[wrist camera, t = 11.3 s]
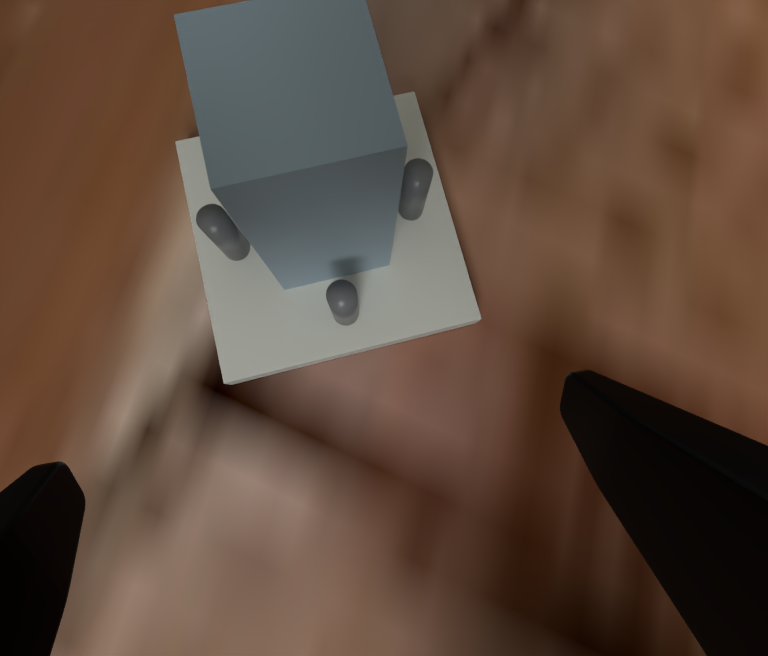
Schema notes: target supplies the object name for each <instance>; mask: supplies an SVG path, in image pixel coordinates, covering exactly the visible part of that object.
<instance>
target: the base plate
mask: <svg viewBox="0 0 768 656" xmlns="http://www.w3.org/2000/svg"><path fill="white" fill-rule="evenodd" d="M394 100H395V103H396V107H397V110H398V114H399V117H400V121H401V124H402V128H403V131H404V135H405V138H406V142H407V145H408V147H407V154H406V160H405V167H404V174H403V180H402V187H401V193H400V200H399V206H398V213H397V220H396V226H395V233H394V239H393V246H392V252H391V259H390V265H388V266H384V267H380V268H376V269H372V270H367V271H363V272H359V273H355V274H351V275H346V276H342V277H338V278H334V279H330V280H325V281H321V282H317V283H313V284H308V285H304V286H300V287H296V288H292V289H287V290H284V289H283V287H282V286H281V285H280V283H279V282H278V281H277V279H276V278H275V276H274V275H273V274H272V272H271V271H270V270H269V268H268V267H267V266H266V264H265V263H264V261H263V260H262V259H261V257H260V256H259V255H258V253H257V252H256V251H255V249H254V248H253V246H252V245H251V244H250V242H249V241H248V240H247V238H246V237H245V236H244V234H243V233H242V232H241V230H240V229H239V227H238V226H237V225H236V223H235V222H234V221H233V219H232V218H231V217H230V215H229V214H228V212H227V211H226V210H225V208H224V207H223V206H222V204H221V203H220V202H219V200H218V199H217V198H216V196H215V195H214V193H213V192H212V191H211V189H210V185H209V180H208V176H207V171H206V166H205V161H204V156H203V152H202V147H201V142H200V137H194V138H189V139H184V140H180V141H175V143H176V148H177V153H178V158H179V163H180V168H181V173H182V178H183V183H184V188H185V193H186V198H187V203H188V208H189V213H190V218H191V223H192V228H193V233H194V238H195V243H196V248H197V253H198V258H199V263H200V268H201V273H202V278H203V283H204V288H205V292H206V297H207V302H208V307H209V312H210V317H211V322H212V327H213V332H214V337H215V342H216V347H217V352H218V357H219V362H220V367H221V372H222V377H223V382H224V384H231V385H232V384H236V383H240V382H244V381H248V380H252V379H256V378H260V377H264V376H268V375H272V374H276V373H280V372H284V371H288V370H292V369H296V368H300V367H304V366H308V365H312V364H316V363H320V362H324V361H328V360H332V359H336V358H340V357H344V356H348V355H352V354H356V353H360V352H364V351H368V350H372V349H376V348H380V347H384V346H388V345H392V344H396V343H400V342H404V341H408V340H412V339H416V338H420V337H424V336H428V335H432V334H436V333H439V332H443V331H447V330H451V329H455V328H459V327H463V326H467V325H471V324H475V323H477V322H478V321H479V320H481V316H480V312H479V309H478V306H477V302H476V299H475V295H474V292H473V289H472V285H471V282H470V278H469V275H468V272H467V268H466V265H465V261H464V258H463V255H462V251H461V248H460V244H459V241H458V238H457V234H456V231H455V228H454V224H453V221H452V217H451V214H450V211H449V207H448V204H447V200H446V197H445V194H444V190H443V187H442V183H441V180H440V177H439V173H438V170H437V166H436V163H435V160H434V156H433V153H432V150H431V146H430V143H429V139H428V136H427V133H426V129H425V126H424V122H423V119H422V116H421V112H420V109H419V105H418V102H417V99H416V95H415V92H414V91H413V92H409V93H404V94H399V95H394Z"/></svg>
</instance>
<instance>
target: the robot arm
mask: <svg viewBox="0 0 768 656" xmlns="http://www.w3.org/2000/svg"><path fill="white" fill-rule="evenodd" d="M560 412H561V415H562V418H563V420H564V422H565V424H566V426H567V428H568V430H569V432H570V434H571V436H572V438H573V440H574V442H575V444H576V446H577V447H578V449H579V451H580V453H581V455H582V457H583V459H584V461H585V463H586V465H587V467H588V469H589V471H590V473H591V475H592V477H593V479H594V480H595V482H596V484H597V486H598V487H599V489H600V491H601V492H602V494H603V495H604V497H605V499H606V500H607V502H608V503H609V505H610V506H611V508H612V509H613V511H614V513H615V514H616V516H617V517H618V519H619V520H620V522H621V523H622V525H623V526H624V528H625V530H626V531H627V533H628V534H629V536H630V537H631V539H632V540H633V542H634V544H635V545H636V547H637V548H638V550H639V551H640V553H641V554H642V556H643V557H644V559H645V561H646V562H647V564H648V565H649V567H650V568H651V570H652V571H653V573H654V575H655V576H656V578H657V579H658V581H659V582H660V584H661V585H662V587H663V588H664V590H665V592H666V593H667V595H668V596H669V598H670V599H671V601H672V602H673V604H674V606H675V607H676V609H677V610H678V612H679V613H680V615H681V616H682V618H683V619H684V621H685V623H686V624H687V626H688V627H689V629H690V630H691V632H692V633H693V635H694V636H695V638H696V640H697V641H698V643H699V644H700V646H701V647H702V649H703V650H704V652H705V654H706V655H707V656H768V446H767V445H765V444H762V443H760V442H758V441H755V440H753V439H750V438H748V437H746V436H743V435H741V434H739V433H736V432H734V431H732V430H729V429H727V428H725V427H722V426H720V425H718V424H715V423H713V422H711V421H708V420H706V419H704V418H701V417H699V416H697V415H694V414H692V413H690V412H687V411H685V410H683V409H680V408H678V407H676V406H673V405H671V404H669V403H666V402H664V401H662V400H659V399H657V398H654V397H652V396H650V395H647V394H645V393H643V392H640V391H638V390H636V389H633V388H631V387H629V386H626V385H624V384H622V383H619V382H617V381H615V380H612V379H610V378H608V377H605V376H603V375H601V374H598V373H596V372H594V371H591V370H581V371H576V372H571V373H569V374H568V375H567V376H566V378H565V382H564V387H563V392H562V397H561V402H560ZM84 512H85V496H84V493H83V491H82V490H81V488H80V486H79V484H78V483H77V481H76V479H75V477H74V476H73V474H72V472H71V471H70V469H69V467H68V466H67V465H66V464H65V463H63V462H52V463H46V464H41V465H37V466H34V467H32V468H30V469H29V470H28V471H26V472H25V473H24V474H23V475H21V476H20V477H19V478H18V479H16V480H15V481H14V482H13V483H11V484H10V485H9V486H8V487H6V488H5V489H4V490H3V491H1V492H0V656H50V654H51V651H52V648H53V644H54V641H55V638H56V635H57V631H58V628H59V625H60V622H61V618H62V615H63V612H64V608H65V605H66V601H67V597H68V593H69V588H70V584H71V579H72V573H73V568H74V563H75V558H76V553H77V548H78V543H79V537H80V532H81V527H82V522H83V517H84Z"/></svg>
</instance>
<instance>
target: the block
mask: <svg viewBox="0 0 768 656" xmlns="http://www.w3.org/2000/svg"><path fill="white" fill-rule="evenodd" d="M174 18H175V23H176V28H177V32H178V37H179V42H180V47H181V51H182V56H183V61H184V66H185V71H186V75H187V80H188V85H189V90H190V94H191V99H192V104H193V109H194V113H195V118H196V123H197V128H198V133H199V137H200V142H201V147H202V152H203V156H204V161H205V166H206V171H207V176H208V180H209V185H210V189H211V191H212V192H213V193H214V195H215V196H216V198H217V199H218V200H219V202H220V203H221V204H222V206H223V207H224V208H225V210H226V211H227V212H228V214H229V215H230V217H231V218H232V219H233V221H234V222H235V223H236V225H237V226H238V227H239V229H240V230H241V232H242V233H243V234H244V236H245V237H246V238H247V240H248V241H249V242H250V244H251V245H252V246H253V248H254V249H255V251H256V252H257V253H258V255H259V256H260V257H261V259H262V260H263V261H264V263H265V264H266V266H267V267H268V268H269V270H270V271H271V272H272V274H273V275H274V276H275V278H276V279H277V281H278V282H279V283H280V285H281V286H282V287H283V289H284V290H287V289H292V288H296V287H300V286H304V285H308V284H313V283H317V282H321V281H325V280H330V279H334V278H338V277H342V276H346V275H351V274H355V273H359V272H363V271H367V270H372V269H376V268H380V267H384V266H388V265H390V259H391V252H392V246H393V239H394V233H395V226H396V220H397V213H398V206H399V200H400V193H401V187H402V180H403V174H404V167H405V160H406V154H407V147H408V145H407V142H406V138H405V135H404V131H403V128H402V124H401V121H400V117H399V114H398V110H397V107H396V103H395V100H394V96H393V93H392V89H391V86H390V82H389V79H388V75H387V72H386V69H385V65H384V62H383V58H382V55H381V51H380V48H379V44H378V41H377V37H376V34H375V30H374V27H373V23H372V20H371V16H370V13H369V9H368V6H367V2H366V0H249V1H244V2H238V3H233V4H228V5H222V6H217V7H212V8H206V9H201V10H196V11H191V12H185V13H180V14H175V15H174Z"/></svg>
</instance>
